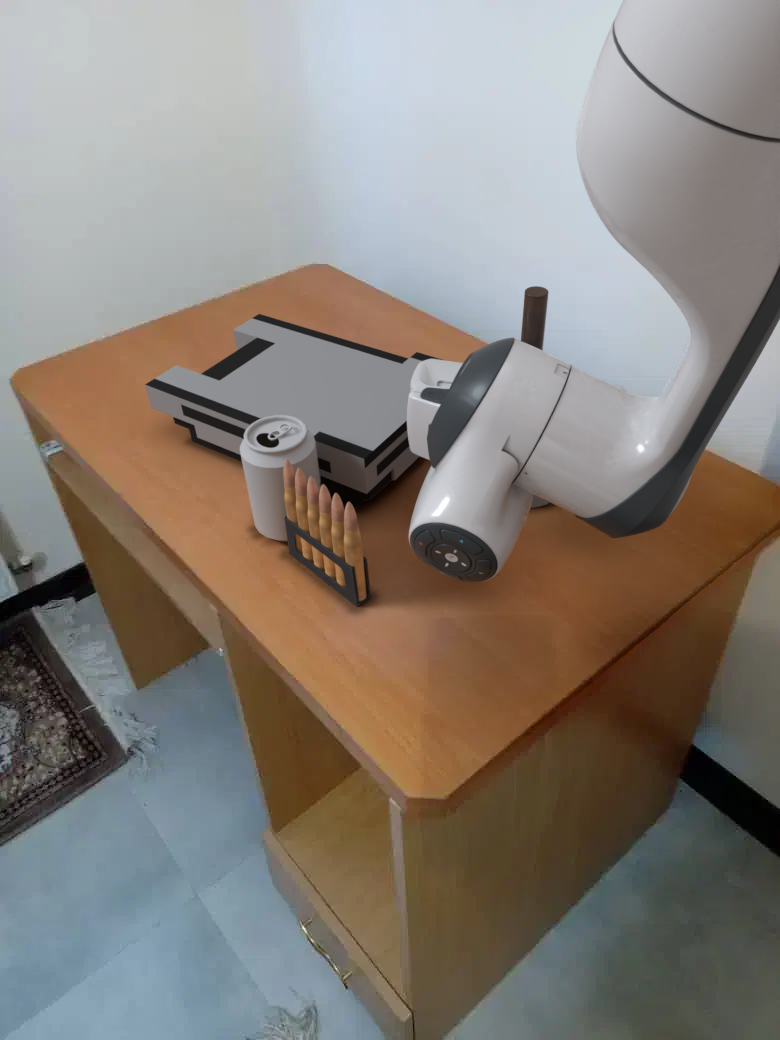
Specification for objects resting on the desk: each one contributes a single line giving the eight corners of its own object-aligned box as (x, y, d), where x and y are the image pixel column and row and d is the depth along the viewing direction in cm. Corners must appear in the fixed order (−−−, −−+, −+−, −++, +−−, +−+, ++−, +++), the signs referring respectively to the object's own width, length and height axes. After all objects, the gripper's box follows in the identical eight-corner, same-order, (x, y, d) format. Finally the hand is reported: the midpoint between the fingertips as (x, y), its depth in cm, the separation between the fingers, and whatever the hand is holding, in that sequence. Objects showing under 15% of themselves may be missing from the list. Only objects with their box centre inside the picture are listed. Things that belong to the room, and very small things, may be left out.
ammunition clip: (371, 597, 76) (364, 502, 68) (357, 607, 75) (348, 512, 67) (302, 544, 82) (288, 451, 74) (288, 553, 81) (272, 459, 73)
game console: (266, 359, 111) (257, 305, 106) (464, 425, 97) (466, 366, 92) (158, 432, 99) (142, 375, 93) (368, 520, 85) (364, 458, 79)
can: (241, 521, 85) (222, 429, 77) (298, 491, 89) (285, 400, 81) (280, 557, 81) (264, 463, 73) (339, 524, 84) (329, 431, 76)
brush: (539, 441, 86) (556, 285, 74) (534, 458, 84) (550, 300, 72) (511, 436, 87) (523, 281, 75) (504, 453, 85) (516, 296, 73)
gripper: (626, 427, 65) (643, 347, 75) (391, 391, 71) (435, 321, 80) (614, 487, 69) (632, 403, 79) (393, 448, 75) (435, 375, 84)
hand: (531, 361), depth 80 cm, fingers closed on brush, 2 cm apart
